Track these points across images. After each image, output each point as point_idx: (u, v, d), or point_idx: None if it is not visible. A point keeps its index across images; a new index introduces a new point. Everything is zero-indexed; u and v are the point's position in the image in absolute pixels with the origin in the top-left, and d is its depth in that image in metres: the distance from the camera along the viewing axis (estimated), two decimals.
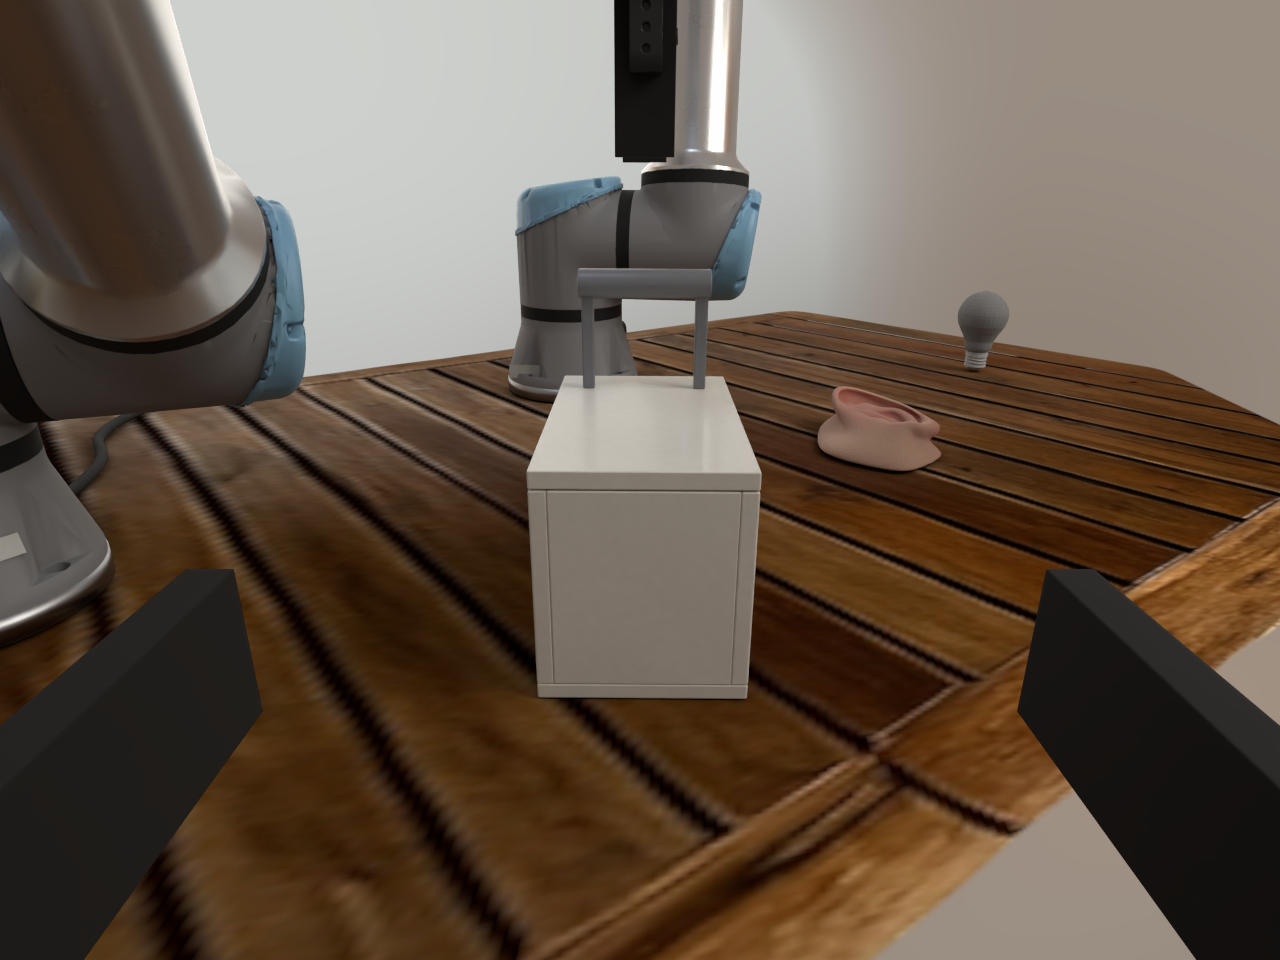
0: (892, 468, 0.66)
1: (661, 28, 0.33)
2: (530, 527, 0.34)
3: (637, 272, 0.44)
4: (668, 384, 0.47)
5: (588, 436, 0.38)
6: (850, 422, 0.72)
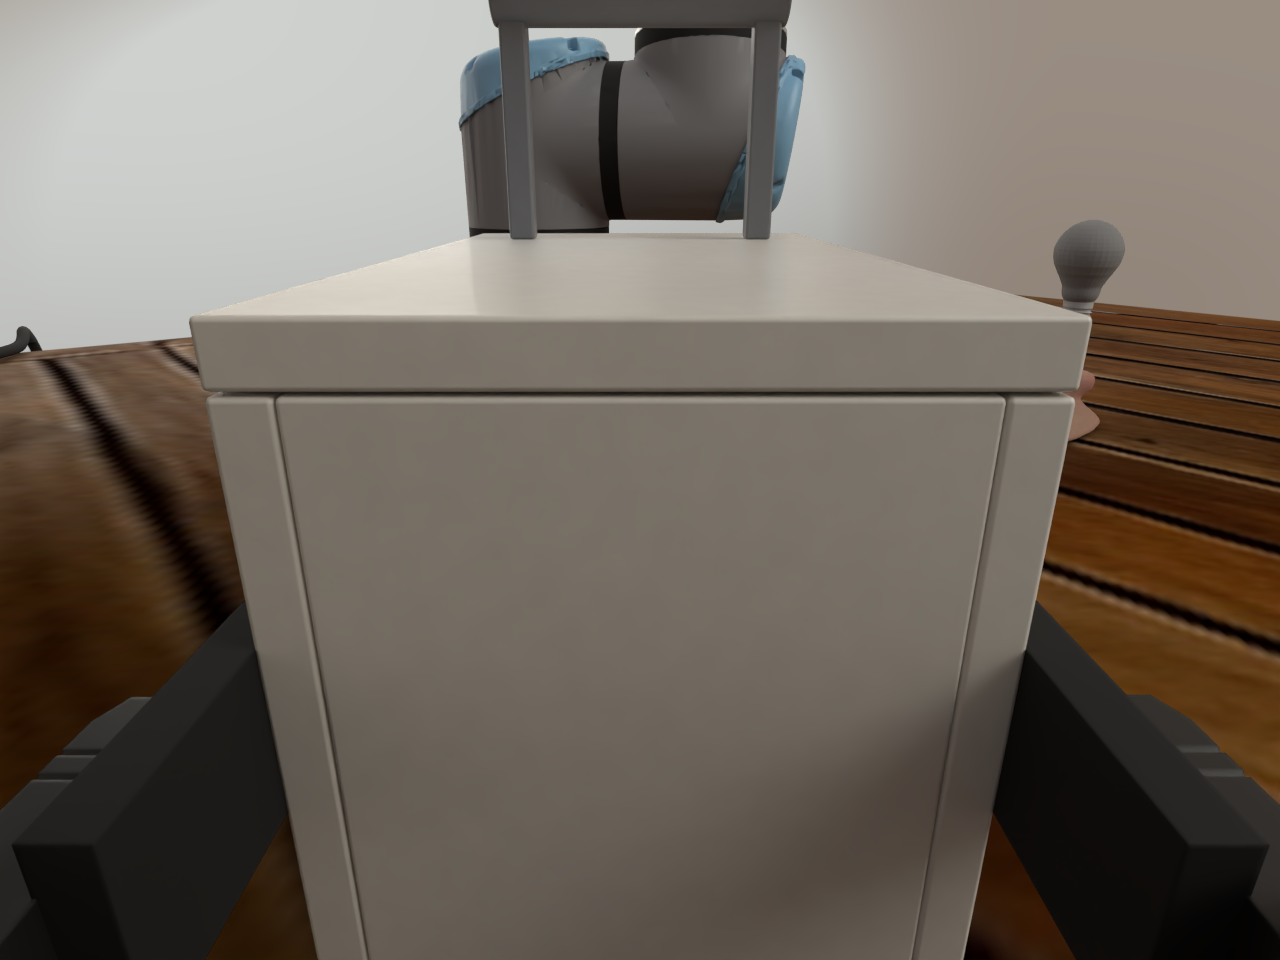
0: None
1: None
2: (235, 535, 0.10)
3: None
4: (690, 237, 0.23)
5: (479, 272, 0.13)
6: None
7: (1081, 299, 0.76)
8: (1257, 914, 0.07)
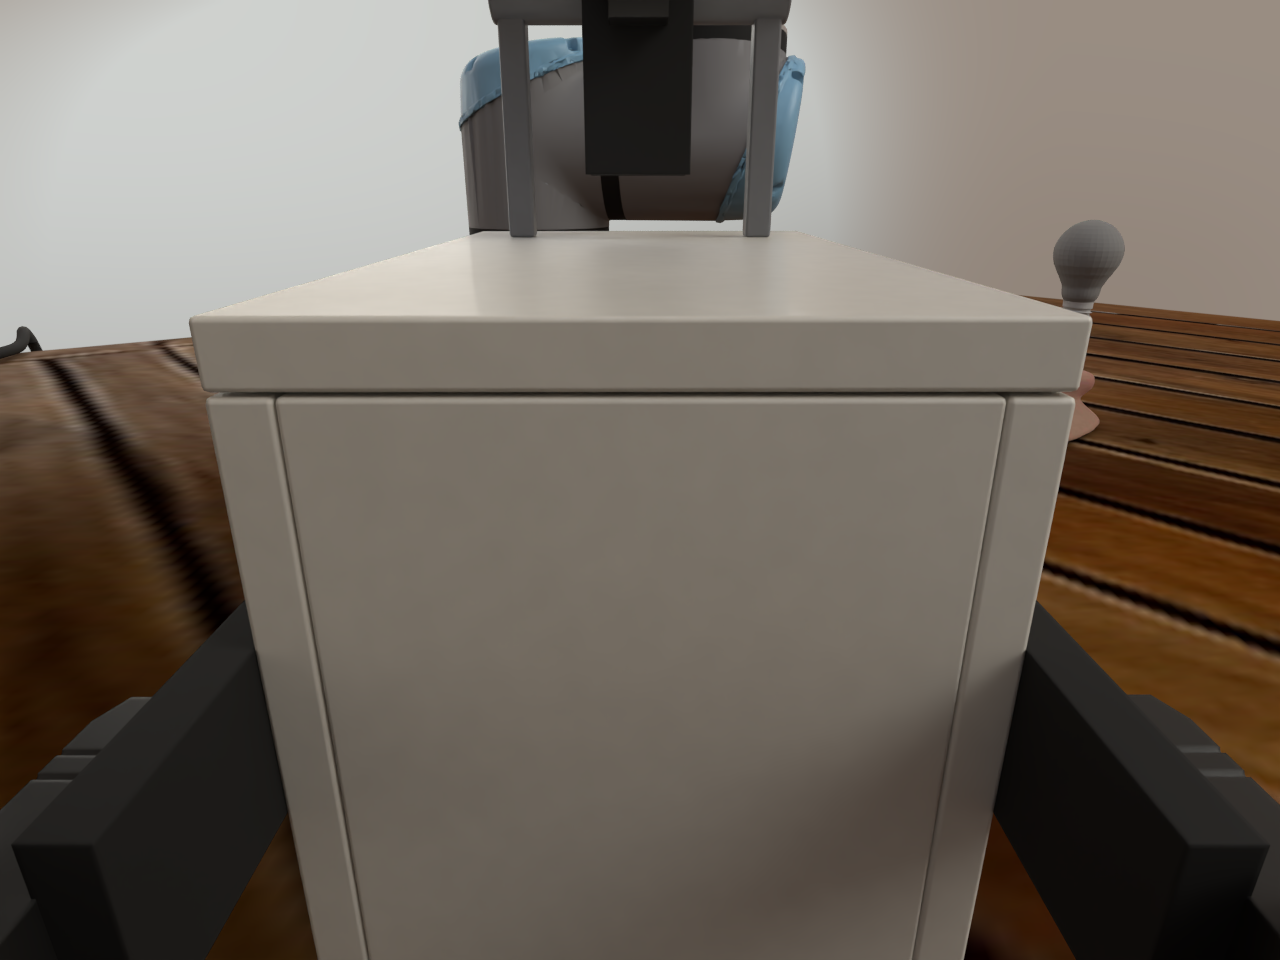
0: None
1: None
2: (235, 536, 0.10)
3: None
4: (690, 235, 0.23)
5: (479, 270, 0.13)
6: None
7: (1081, 299, 0.76)
8: (1258, 914, 0.07)
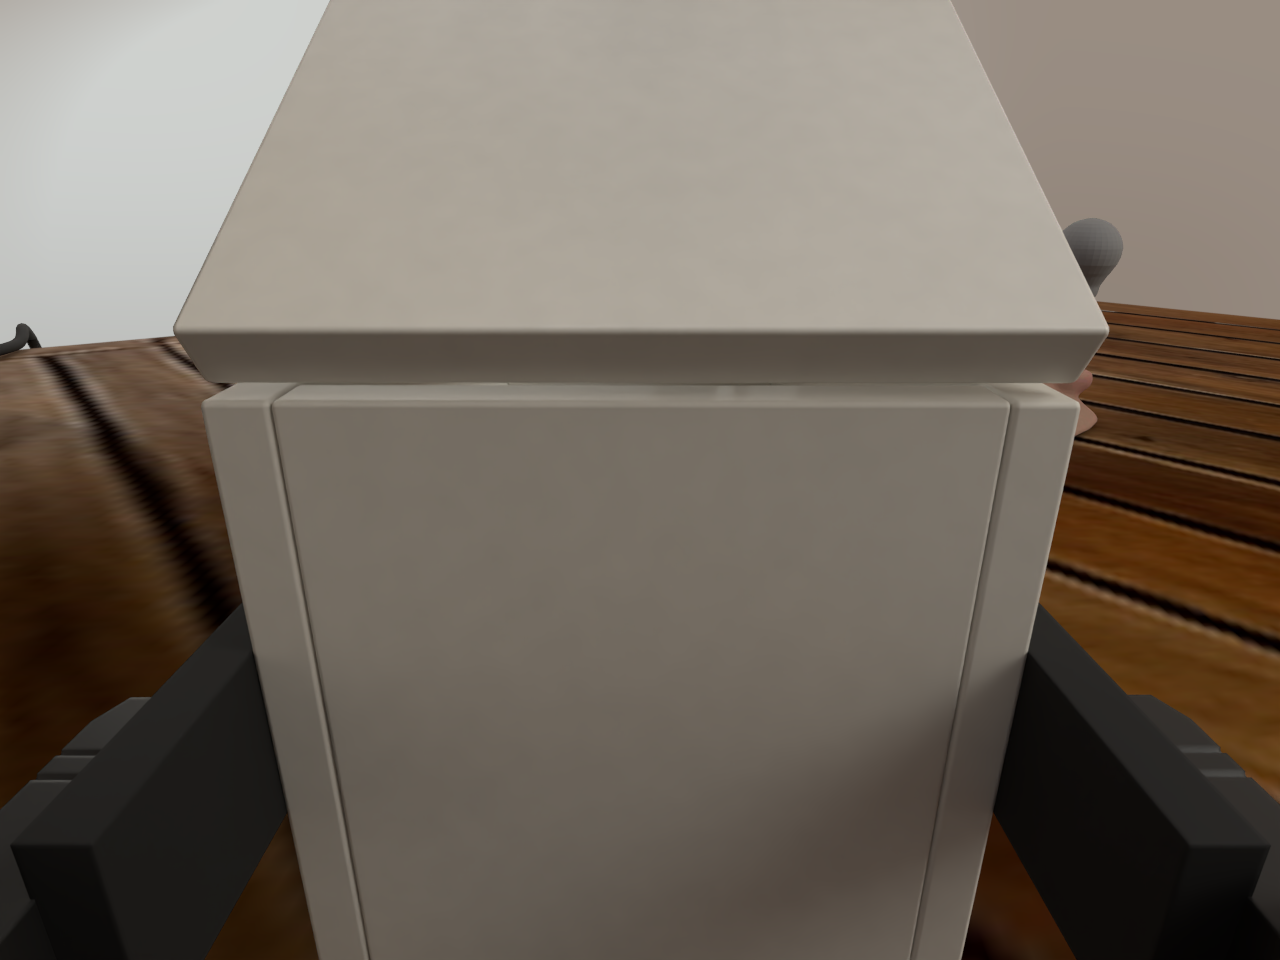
0: None
1: None
2: (232, 539, 0.10)
3: None
4: None
5: (449, 85, 0.11)
6: None
7: None
8: (1258, 915, 0.07)
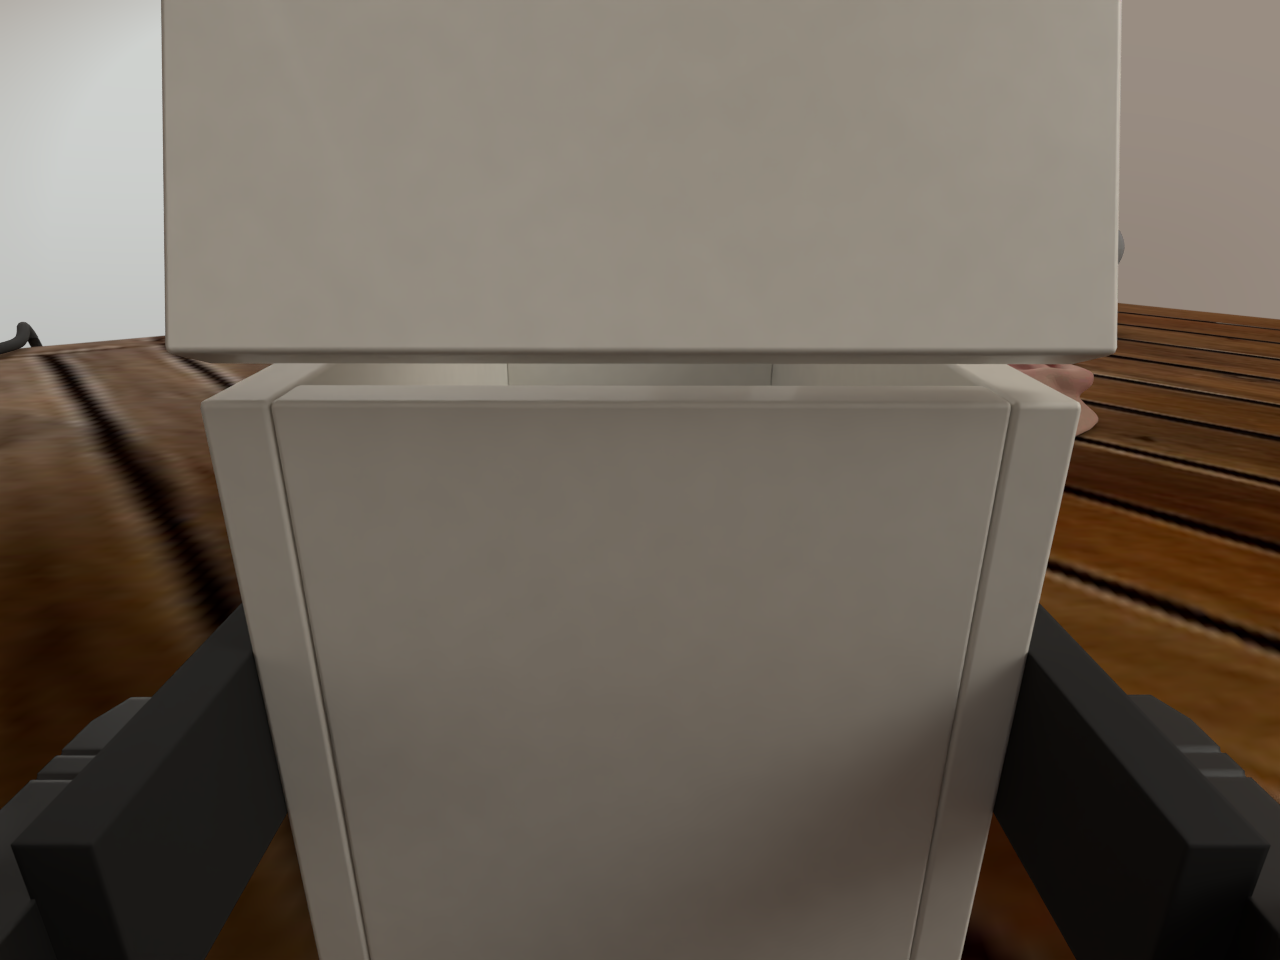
0: None
1: None
2: (231, 539, 0.09)
3: None
4: None
5: None
6: None
7: None
8: (1258, 915, 0.07)
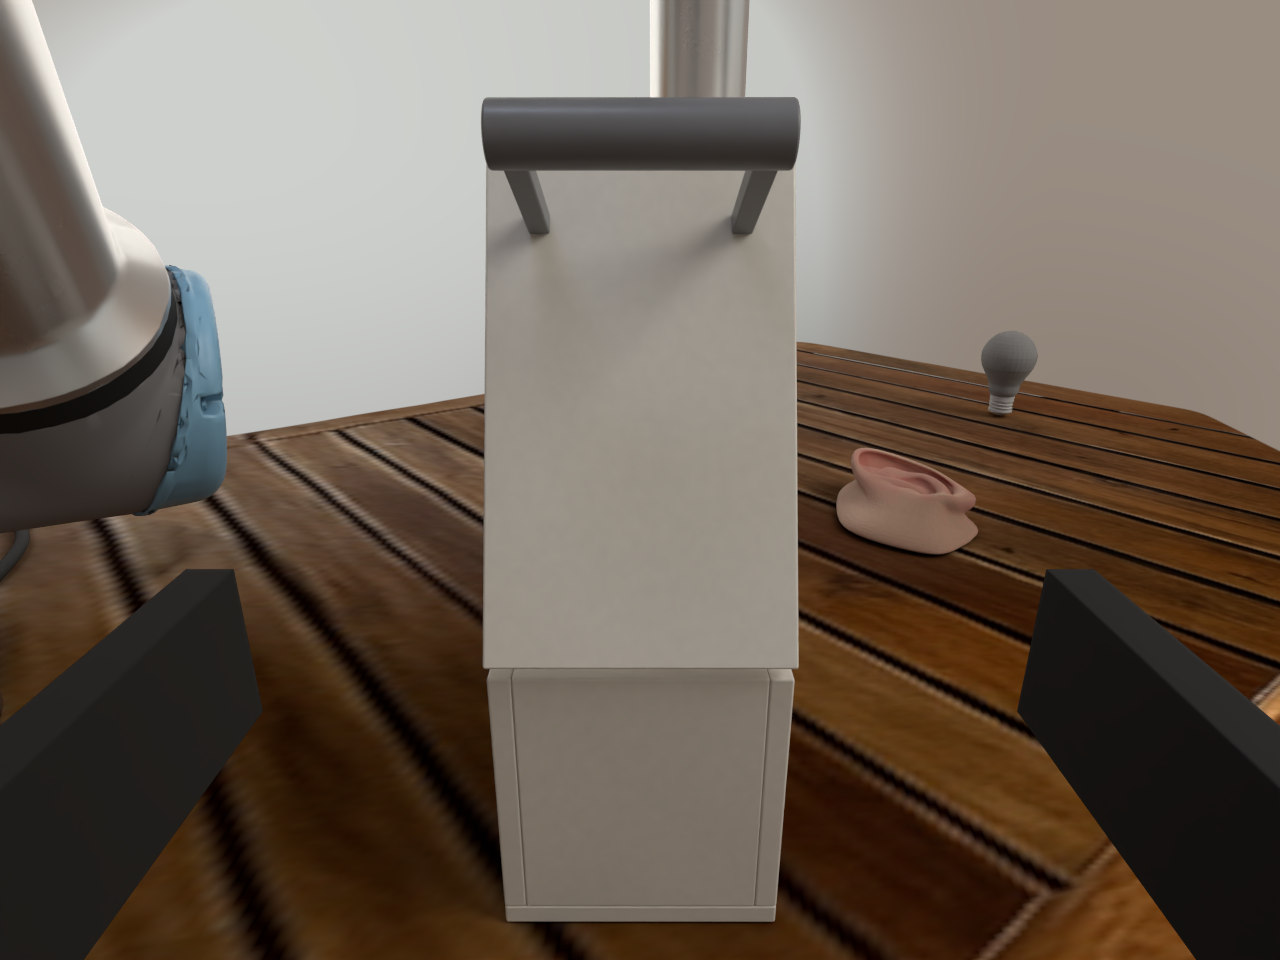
0: (925, 551, 0.58)
1: None
2: (491, 723, 0.26)
3: (623, 139, 0.19)
4: (686, 201, 0.25)
5: (555, 516, 0.25)
6: (874, 493, 0.64)
7: (1003, 395, 0.92)
8: None
